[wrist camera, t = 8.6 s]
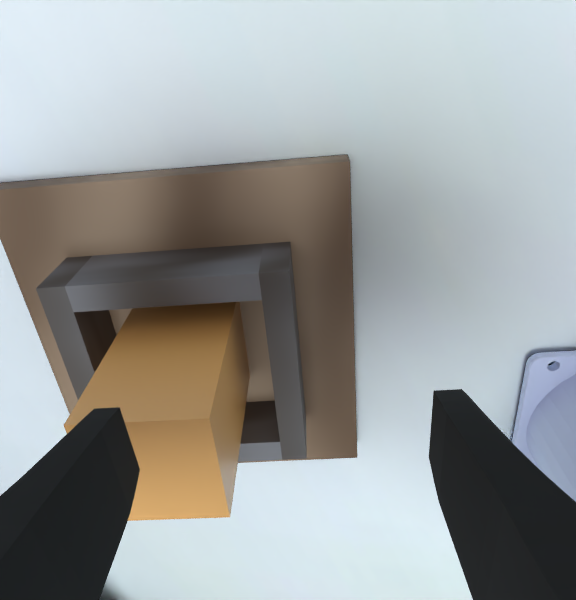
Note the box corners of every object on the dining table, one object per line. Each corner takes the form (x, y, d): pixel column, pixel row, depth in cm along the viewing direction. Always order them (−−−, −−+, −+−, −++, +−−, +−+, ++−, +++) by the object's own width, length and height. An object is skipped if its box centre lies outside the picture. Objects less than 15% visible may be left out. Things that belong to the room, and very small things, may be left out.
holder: (347, 154, 18) (357, 181, 14) (355, 441, 24) (363, 501, 21) (-4, 183, 18) (-65, 214, 15) (98, 453, 25) (70, 513, 22)
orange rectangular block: (238, 293, 19) (209, 418, 13) (250, 375, 21) (229, 516, 15) (137, 299, 19) (63, 425, 13) (158, 379, 21) (102, 521, 15)
